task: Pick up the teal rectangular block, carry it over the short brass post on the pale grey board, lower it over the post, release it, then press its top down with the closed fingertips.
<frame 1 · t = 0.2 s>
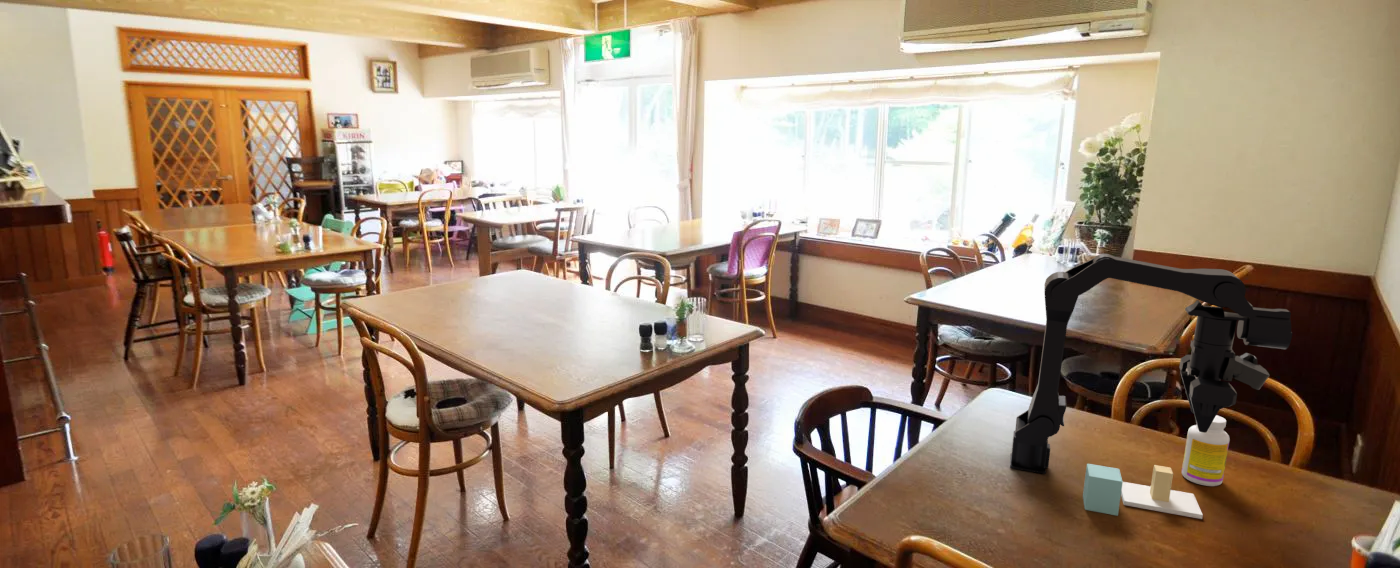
hand: (1198, 422, 132), 14 cm above the table, fingers open, 9 cm apart
teal rectangular block: (1099, 505, 131), on the table
post stand: (1158, 501, 132), on the table
supplement bottle: (1201, 480, 140), on the table
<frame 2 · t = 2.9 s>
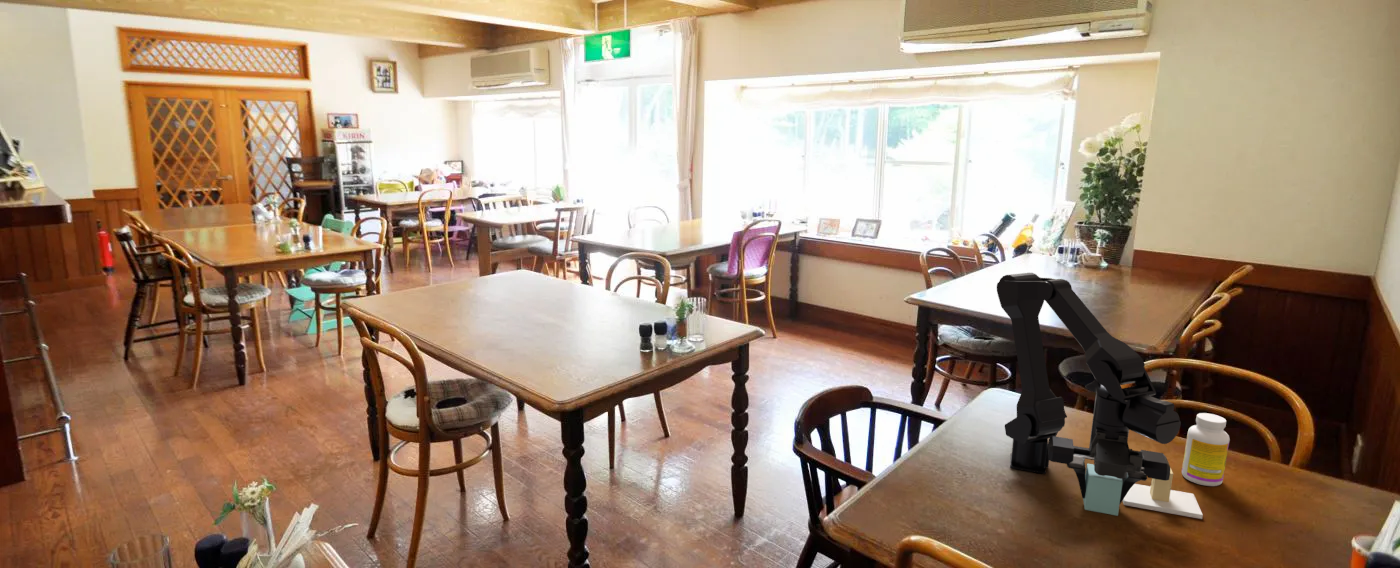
hand: (1100, 500, 131), 1 cm above the table, fingers closed on teal rectangular block, 5 cm apart
teal rectangular block: (1099, 505, 131), on the table, touching gripper
everything else where it was.
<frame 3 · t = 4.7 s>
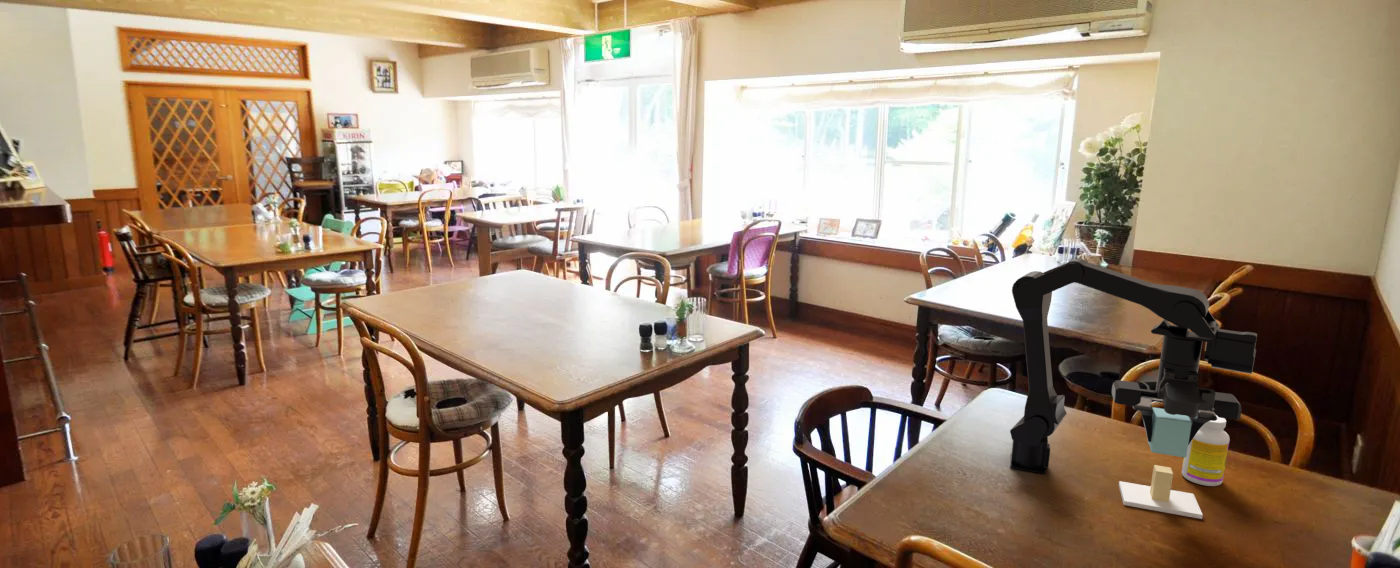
hand: (1167, 443, 130), 12 cm above the table, fingers closed on teal rectangular block, 5 cm apart
teal rectangular block: (1166, 449, 130), point 10 cm above the table, touching gripper
everything else where it was.
when the fingers open (3 cm above the table, at t = 6.9 s): teal rectangular block drops 2 cm, resting on post stand.
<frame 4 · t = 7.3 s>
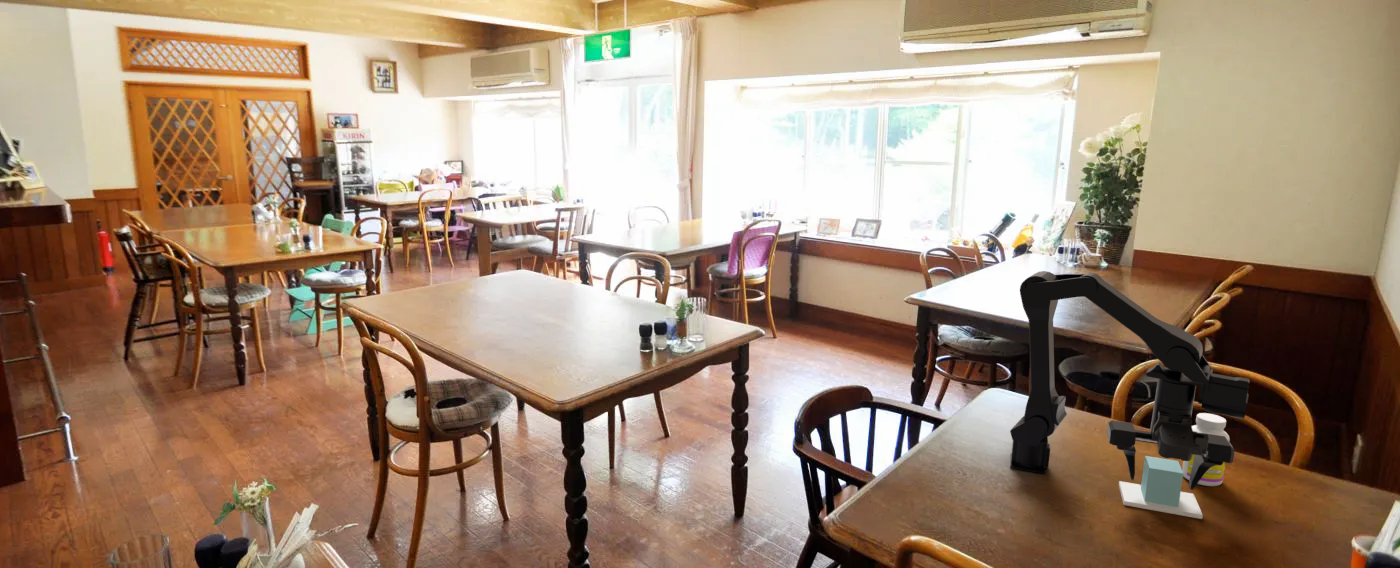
hand: (1161, 483, 131), 3 cm above the table, fingers open, 9 cm apart
teal rectangular block: (1158, 497, 132), point 1 cm above the table, touching post stand
everything else where it was.
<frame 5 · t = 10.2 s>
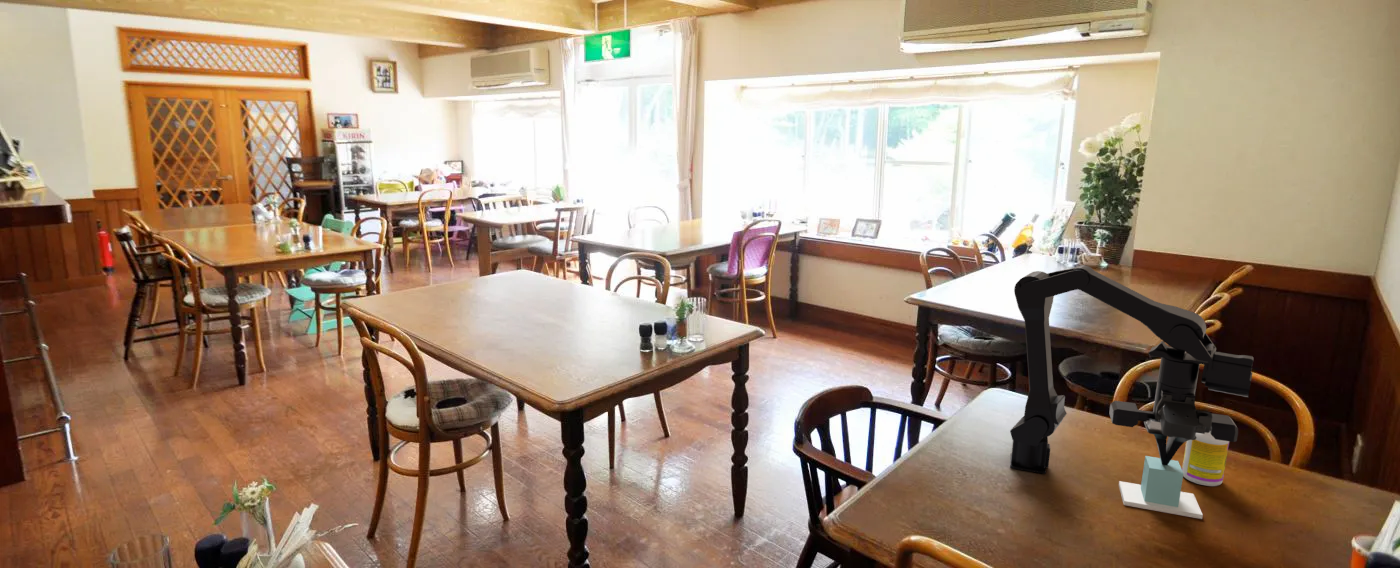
hand: (1164, 464, 131), 7 cm above the table, fingers closed
nothing on the table moved.
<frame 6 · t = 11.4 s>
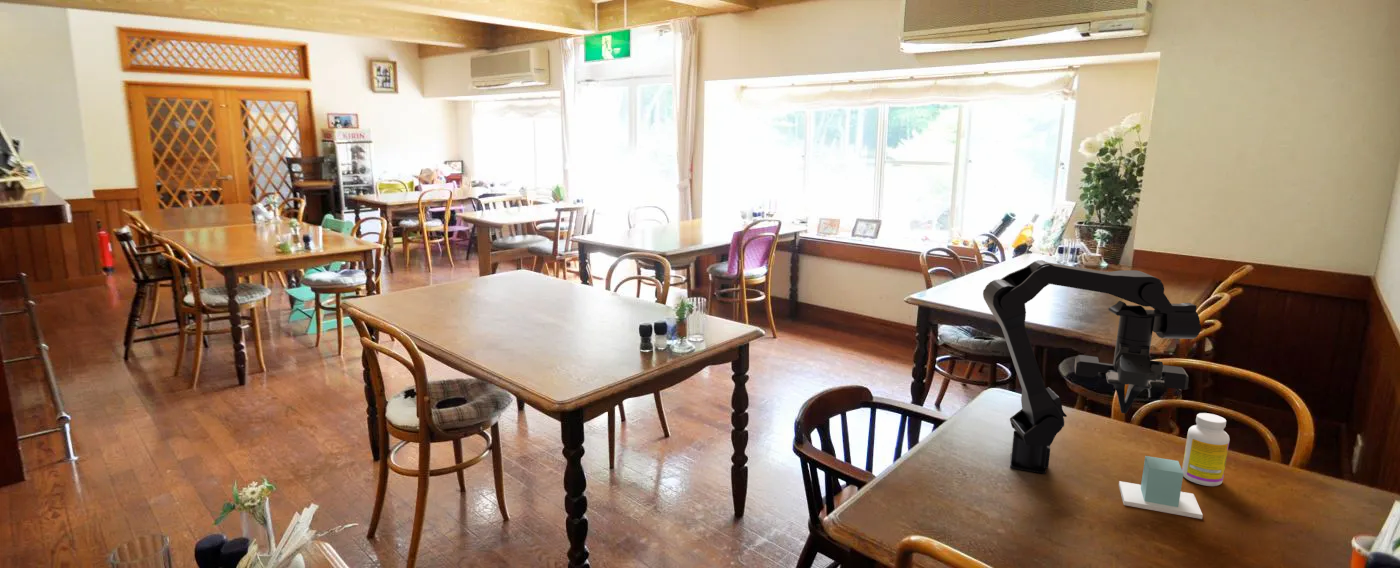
hand: (1123, 412, 142), 12 cm above the table, fingers closed
nothing on the table moved.
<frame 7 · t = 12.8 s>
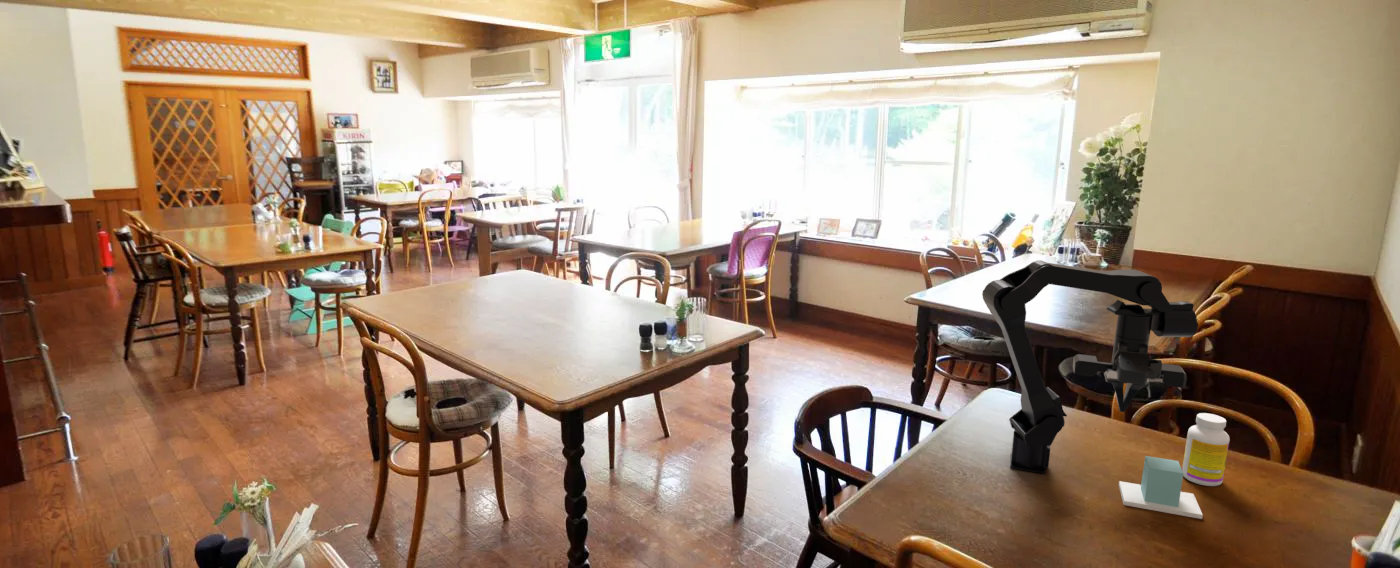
hand: (1121, 411, 143), 12 cm above the table, fingers closed
nothing on the table moved.
at the end: teal rectangular block 0.1 cm from the post stand (horizontally); teal rectangular block point 0.8 cm above the table; teal rectangular block tilted 0° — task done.
